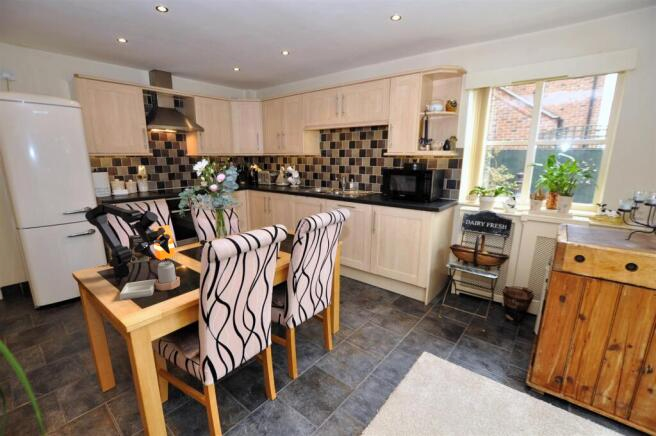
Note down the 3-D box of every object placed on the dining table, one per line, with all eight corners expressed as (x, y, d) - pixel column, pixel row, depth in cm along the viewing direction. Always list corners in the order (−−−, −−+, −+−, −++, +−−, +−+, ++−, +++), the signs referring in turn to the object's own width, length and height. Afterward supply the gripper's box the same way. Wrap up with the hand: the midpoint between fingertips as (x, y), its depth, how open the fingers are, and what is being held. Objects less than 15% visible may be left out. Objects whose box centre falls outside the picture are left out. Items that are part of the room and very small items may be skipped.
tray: (120, 300, 138) (119, 294, 137) (127, 288, 149) (126, 283, 149) (152, 295, 142) (151, 289, 142) (156, 284, 154) (155, 279, 153)
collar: (154, 291, 146) (154, 285, 145) (158, 283, 156) (157, 277, 155) (178, 288, 150) (178, 282, 149) (180, 280, 159) (179, 274, 159)
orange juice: (155, 257, 194) (151, 226, 190) (169, 253, 201) (166, 224, 196) (160, 259, 189) (156, 228, 185) (175, 256, 196) (171, 226, 191)
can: (169, 289, 148) (166, 266, 146) (156, 288, 150) (153, 265, 147) (179, 283, 156) (177, 261, 153) (167, 282, 157) (164, 260, 154)
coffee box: (131, 263, 183) (128, 237, 179) (132, 260, 188) (129, 235, 185) (149, 261, 187) (145, 235, 183) (149, 258, 192) (146, 233, 189)
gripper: (137, 227, 144) (157, 254, 144) (167, 219, 161) (185, 242, 162) (125, 240, 148) (144, 265, 148) (155, 230, 165) (172, 253, 165)
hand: (162, 256), depth 156 cm, fingers open, 9 cm apart
